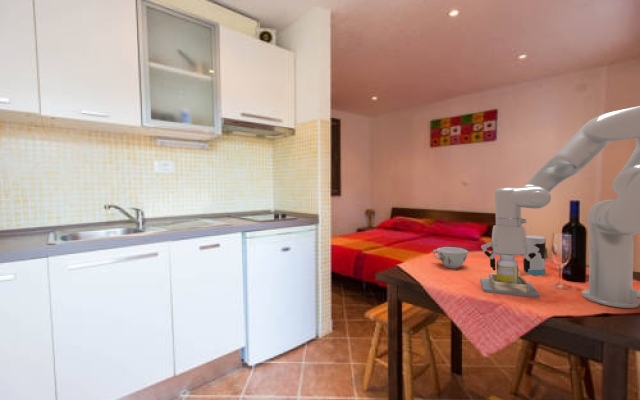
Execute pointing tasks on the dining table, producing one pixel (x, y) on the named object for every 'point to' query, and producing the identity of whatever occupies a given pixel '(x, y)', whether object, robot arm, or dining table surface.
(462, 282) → the dining table surface
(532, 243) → the milk carton
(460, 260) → the teacup
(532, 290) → the dock board
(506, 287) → the beige square tray
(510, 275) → the pill bottle
